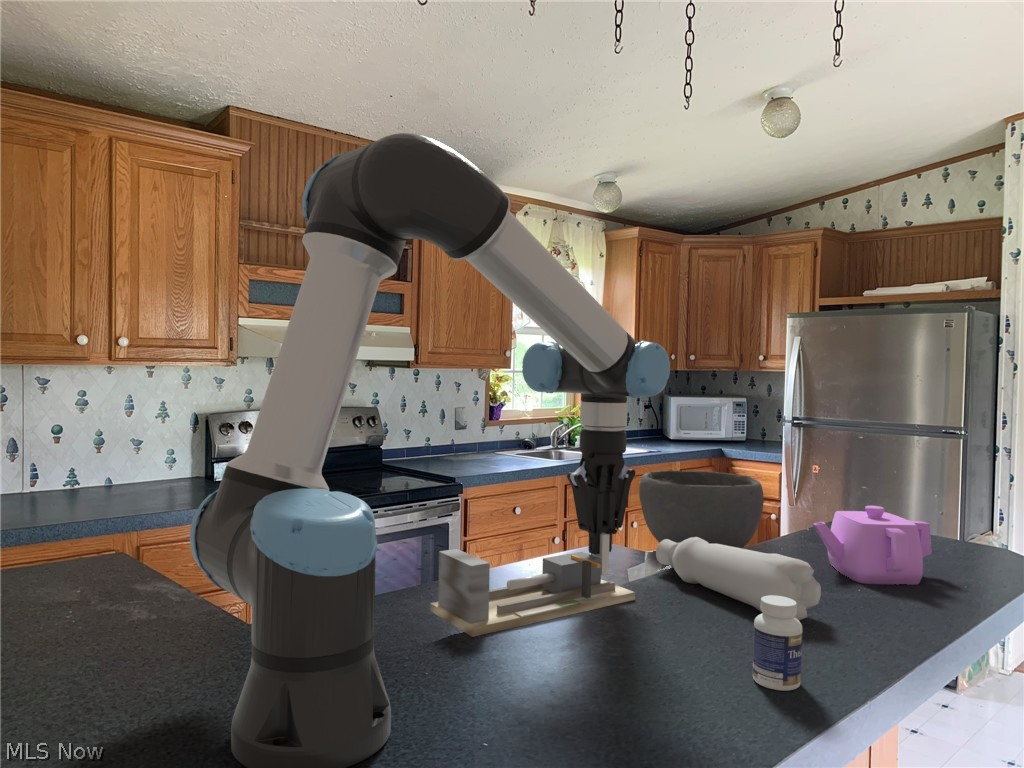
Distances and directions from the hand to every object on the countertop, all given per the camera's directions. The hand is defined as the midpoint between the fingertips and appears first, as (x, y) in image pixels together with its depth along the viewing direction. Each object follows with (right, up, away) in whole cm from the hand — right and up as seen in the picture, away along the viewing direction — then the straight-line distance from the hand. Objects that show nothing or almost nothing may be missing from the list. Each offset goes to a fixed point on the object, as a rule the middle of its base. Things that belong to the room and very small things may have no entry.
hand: (599, 572), depth 120 cm
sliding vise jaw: (-7, -2, -7) cm, 10 cm away
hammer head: (-3, -2, -8) cm, 9 cm away
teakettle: (+51, -4, +15) cm, 53 cm away
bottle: (+21, -4, 0) cm, 21 cm away
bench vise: (-11, -3, -7) cm, 13 cm away
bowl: (+23, -3, +28) cm, 37 cm away
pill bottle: (+17, -5, -33) cm, 37 cm away
